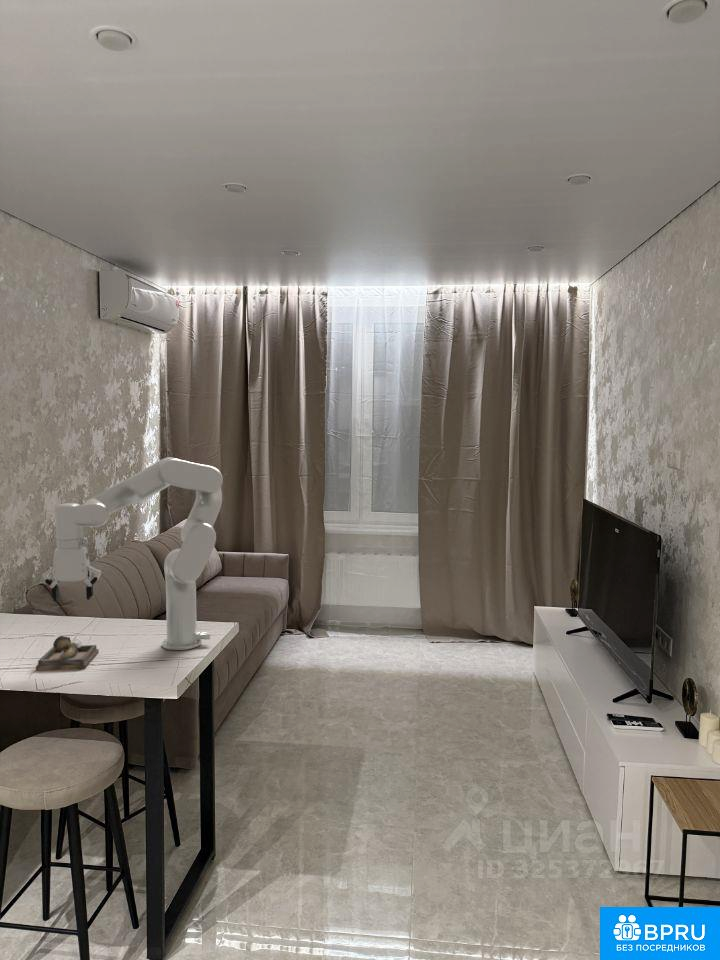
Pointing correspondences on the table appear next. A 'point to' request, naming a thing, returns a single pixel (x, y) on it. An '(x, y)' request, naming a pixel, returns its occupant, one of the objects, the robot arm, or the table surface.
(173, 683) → the table surface
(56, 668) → the wooden tray
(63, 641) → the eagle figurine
